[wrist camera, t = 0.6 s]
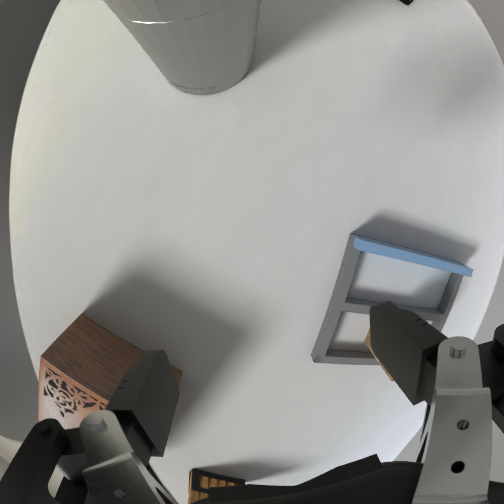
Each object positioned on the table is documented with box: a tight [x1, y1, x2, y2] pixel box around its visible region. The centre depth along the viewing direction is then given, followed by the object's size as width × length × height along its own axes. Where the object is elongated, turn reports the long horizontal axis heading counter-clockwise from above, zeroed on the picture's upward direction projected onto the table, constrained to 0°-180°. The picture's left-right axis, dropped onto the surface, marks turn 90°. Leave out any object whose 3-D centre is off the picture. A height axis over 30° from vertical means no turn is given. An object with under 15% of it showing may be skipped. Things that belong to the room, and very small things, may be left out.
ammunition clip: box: [188, 468, 245, 504], centre depth 33 cm, size 11×2×12 cm, turn 63°
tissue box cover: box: [38, 314, 182, 429], centre depth 28 cm, size 26×14×10 cm, turn 148°
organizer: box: [311, 234, 473, 365], centre depth 29 cm, size 15×18×3 cm
